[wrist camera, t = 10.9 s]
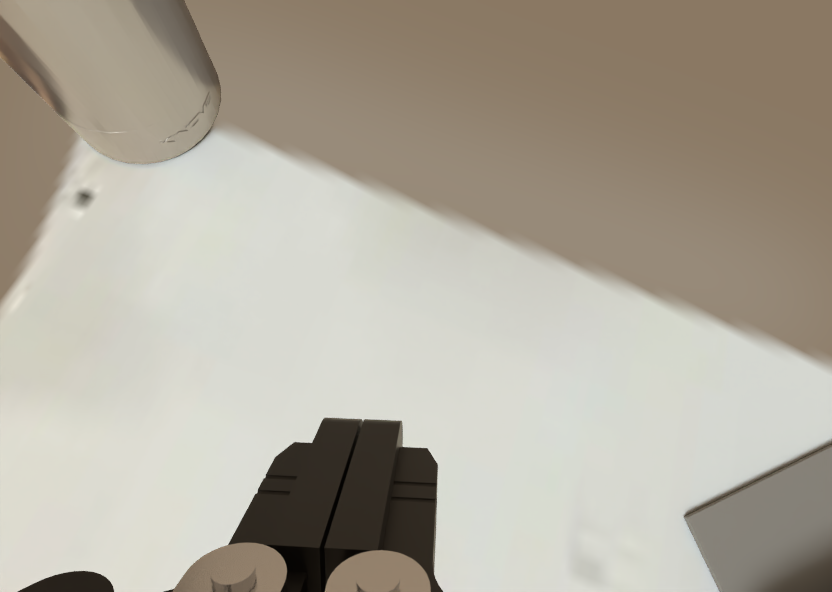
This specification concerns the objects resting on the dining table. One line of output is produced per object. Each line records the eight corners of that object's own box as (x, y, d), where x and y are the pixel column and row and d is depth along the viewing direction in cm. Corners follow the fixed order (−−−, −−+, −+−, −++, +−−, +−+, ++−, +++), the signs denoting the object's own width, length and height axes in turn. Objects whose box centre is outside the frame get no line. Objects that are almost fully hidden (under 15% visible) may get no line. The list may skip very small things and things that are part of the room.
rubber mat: (769, 696, 31) (774, 699, 31) (683, 516, 33) (687, 517, 33) (943, 599, 33) (950, 601, 33) (853, 433, 35) (858, 433, 34)
